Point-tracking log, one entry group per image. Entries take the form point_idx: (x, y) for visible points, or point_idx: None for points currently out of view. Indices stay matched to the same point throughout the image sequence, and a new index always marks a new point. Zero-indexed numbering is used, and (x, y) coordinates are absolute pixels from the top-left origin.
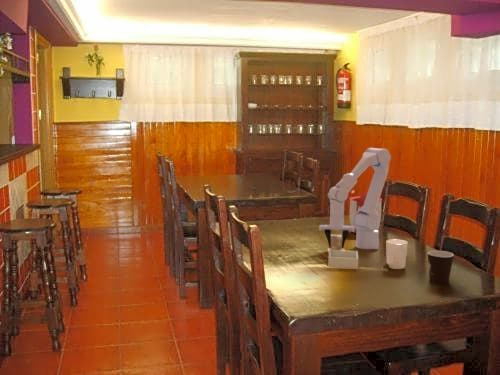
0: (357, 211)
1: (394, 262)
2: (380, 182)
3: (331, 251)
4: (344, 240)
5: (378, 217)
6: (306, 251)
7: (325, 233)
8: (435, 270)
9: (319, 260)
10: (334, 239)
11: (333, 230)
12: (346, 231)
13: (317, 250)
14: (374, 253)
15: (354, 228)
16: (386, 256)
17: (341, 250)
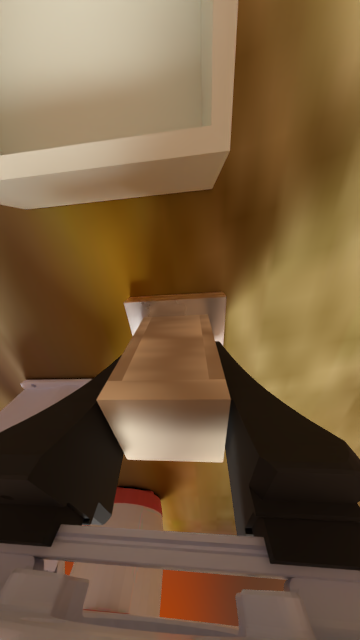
0: (124, 613)
1: None
2: None
3: (201, 138)
4: (95, 380)
5: (74, 565)
6: (329, 340)
7: (350, 452)
8: None
9: (294, 121)
10: (184, 375)
11: (207, 535)
12: (8, 513)
13: (266, 364)
14: (28, 365)
15: (151, 510)
16: None
17: (84, 161)
